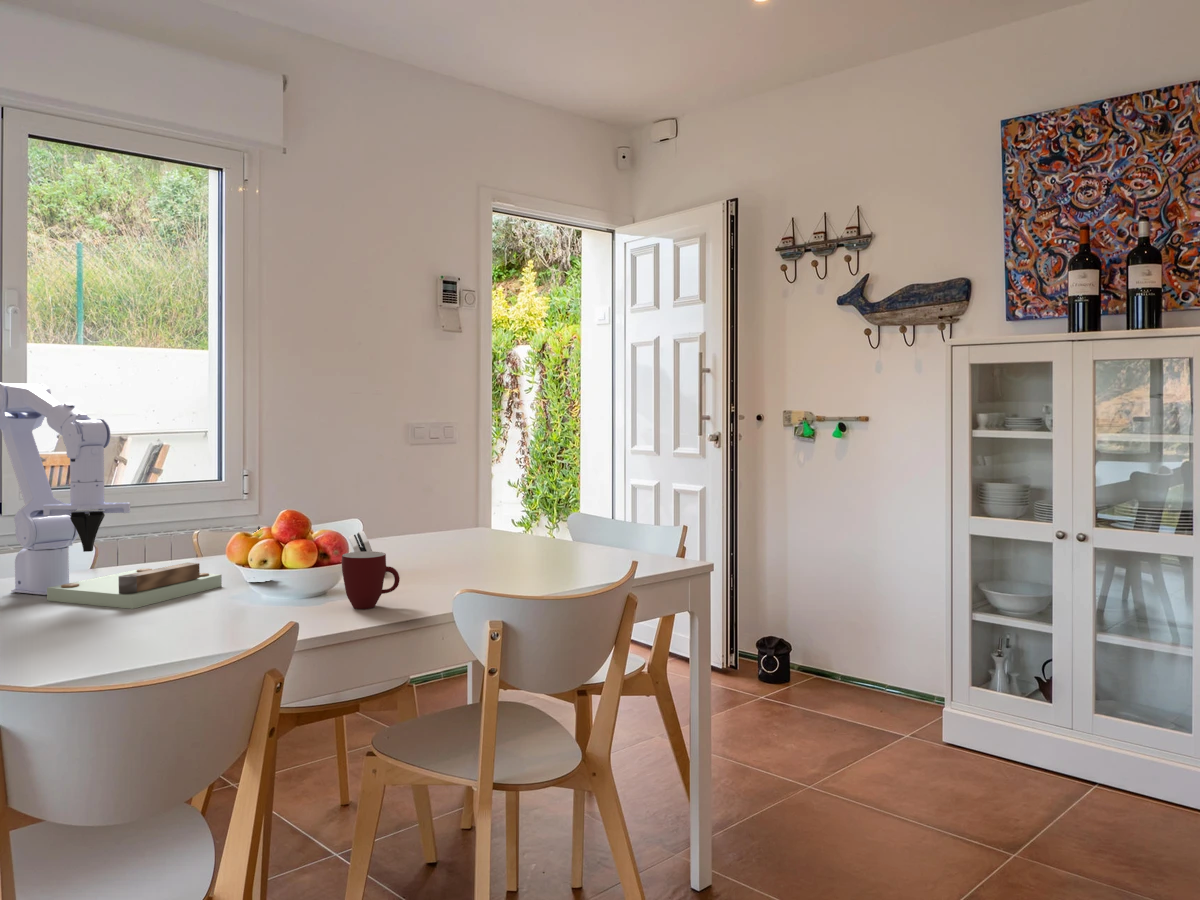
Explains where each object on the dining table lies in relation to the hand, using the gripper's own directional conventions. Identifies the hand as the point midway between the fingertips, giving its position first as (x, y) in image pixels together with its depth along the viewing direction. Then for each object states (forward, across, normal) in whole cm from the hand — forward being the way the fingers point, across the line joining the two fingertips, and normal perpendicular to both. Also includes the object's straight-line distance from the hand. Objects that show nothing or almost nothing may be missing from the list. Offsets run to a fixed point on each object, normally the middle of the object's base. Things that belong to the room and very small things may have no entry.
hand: (88, 550), depth 171 cm
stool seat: (+9, +8, +3) cm, 13 cm away
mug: (+10, +50, -25) cm, 57 cm away
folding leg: (+7, +13, -5) cm, 15 cm away
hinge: (+10, +55, +17) cm, 58 cm away
